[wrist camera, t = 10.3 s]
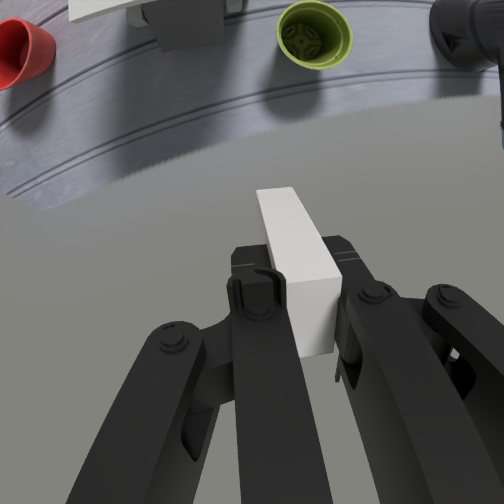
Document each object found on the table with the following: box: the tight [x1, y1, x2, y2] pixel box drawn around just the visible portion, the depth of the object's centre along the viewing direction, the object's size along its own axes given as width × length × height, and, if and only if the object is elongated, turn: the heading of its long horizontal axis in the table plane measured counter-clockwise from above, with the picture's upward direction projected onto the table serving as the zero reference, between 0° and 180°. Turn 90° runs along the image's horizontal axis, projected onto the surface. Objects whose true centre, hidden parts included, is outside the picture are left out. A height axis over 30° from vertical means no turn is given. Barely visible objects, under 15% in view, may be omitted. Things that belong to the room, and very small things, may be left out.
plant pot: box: [276, 0, 353, 70], centre depth 34 cm, size 9×9×9 cm
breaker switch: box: [140, 0, 226, 52], centre depth 25 cm, size 9×2×16 cm, turn 95°
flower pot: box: [0, 17, 56, 90], centre depth 29 cm, size 11×11×10 cm
